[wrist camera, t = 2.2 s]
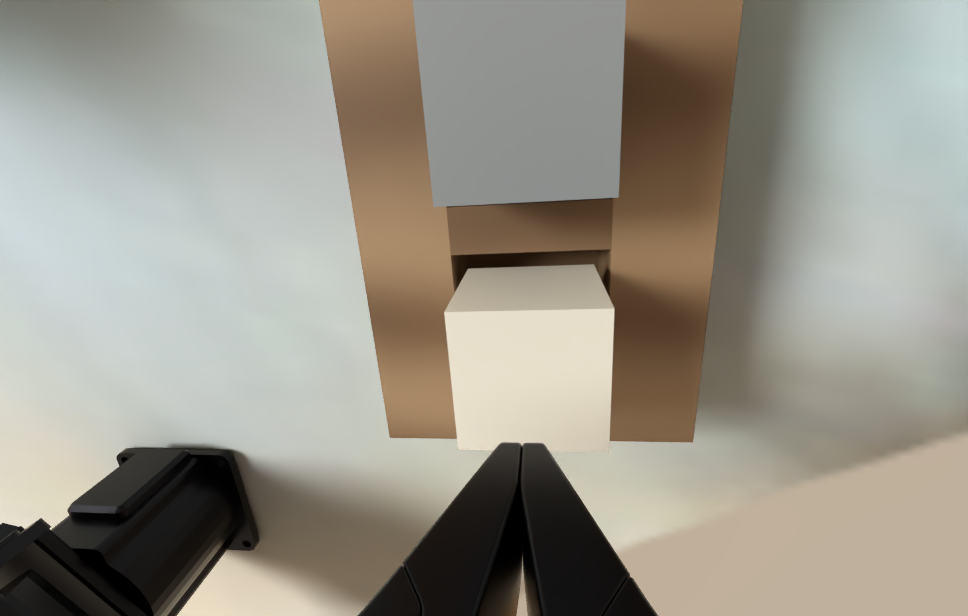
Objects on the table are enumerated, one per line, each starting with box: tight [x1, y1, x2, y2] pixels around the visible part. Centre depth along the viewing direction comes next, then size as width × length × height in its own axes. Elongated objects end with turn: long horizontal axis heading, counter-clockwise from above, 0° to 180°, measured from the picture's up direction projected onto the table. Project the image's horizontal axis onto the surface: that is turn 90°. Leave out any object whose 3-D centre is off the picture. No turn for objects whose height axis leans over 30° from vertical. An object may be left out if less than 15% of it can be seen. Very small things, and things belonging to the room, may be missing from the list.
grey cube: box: [412, 0, 626, 207], centre depth 11 cm, size 4×4×4 cm
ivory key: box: [444, 264, 614, 452], centre depth 13 cm, size 4×4×4 cm
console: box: [319, 0, 743, 442], centre depth 14 cm, size 22×11×4 cm, turn 4°
